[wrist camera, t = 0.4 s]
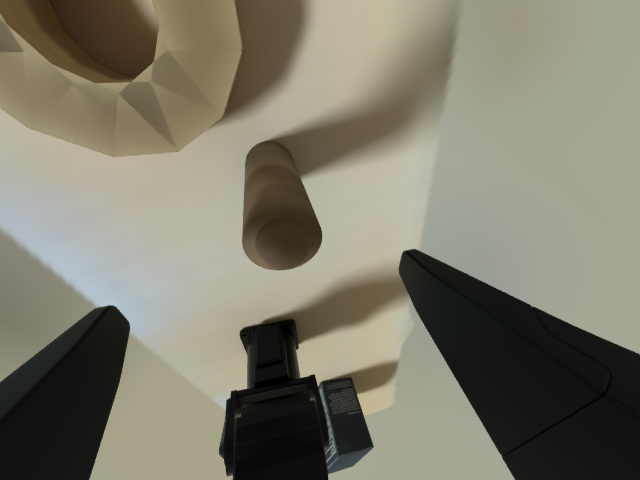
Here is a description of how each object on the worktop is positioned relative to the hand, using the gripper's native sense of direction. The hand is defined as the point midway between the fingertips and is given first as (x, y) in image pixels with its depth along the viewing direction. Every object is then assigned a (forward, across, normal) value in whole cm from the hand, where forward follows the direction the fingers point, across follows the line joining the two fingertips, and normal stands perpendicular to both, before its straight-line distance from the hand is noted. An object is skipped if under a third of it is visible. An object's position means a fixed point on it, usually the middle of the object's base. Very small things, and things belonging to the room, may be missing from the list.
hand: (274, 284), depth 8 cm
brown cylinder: (+12, -1, 0) cm, 12 cm away
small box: (+13, -5, +45) cm, 47 cm away
